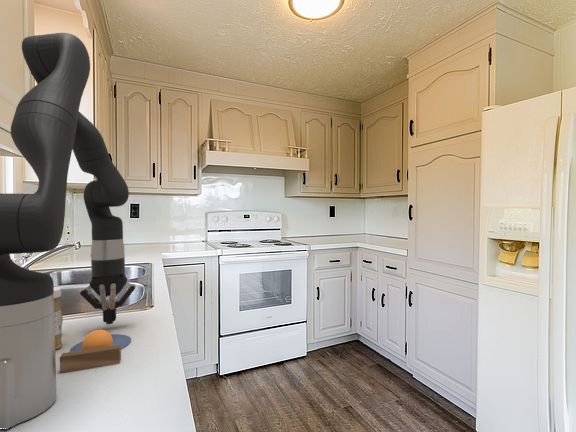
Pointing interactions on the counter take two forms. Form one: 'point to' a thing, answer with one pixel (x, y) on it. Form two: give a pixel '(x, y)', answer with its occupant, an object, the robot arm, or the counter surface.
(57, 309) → the sprinkles bottle
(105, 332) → the ball
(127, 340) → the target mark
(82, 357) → the stopper wall
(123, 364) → the counter surface
